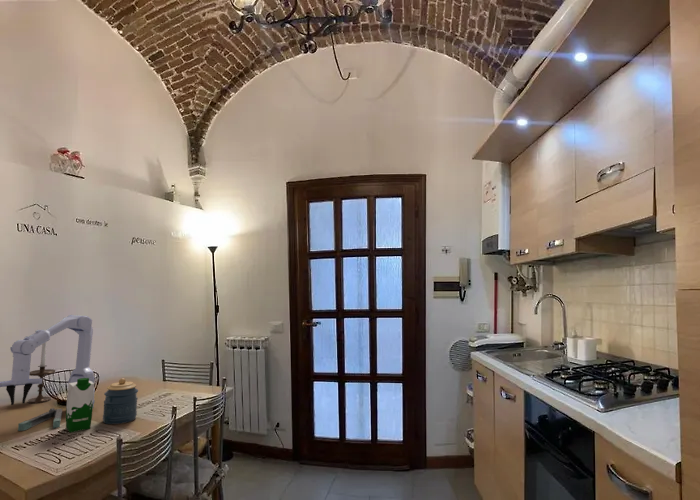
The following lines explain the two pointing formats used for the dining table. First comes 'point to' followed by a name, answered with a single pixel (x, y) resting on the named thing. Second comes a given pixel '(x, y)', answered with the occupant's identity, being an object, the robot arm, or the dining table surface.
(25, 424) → the tong leg
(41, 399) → the candlestick
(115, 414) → the canister
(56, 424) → the tongs fixed
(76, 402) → the milk carton
